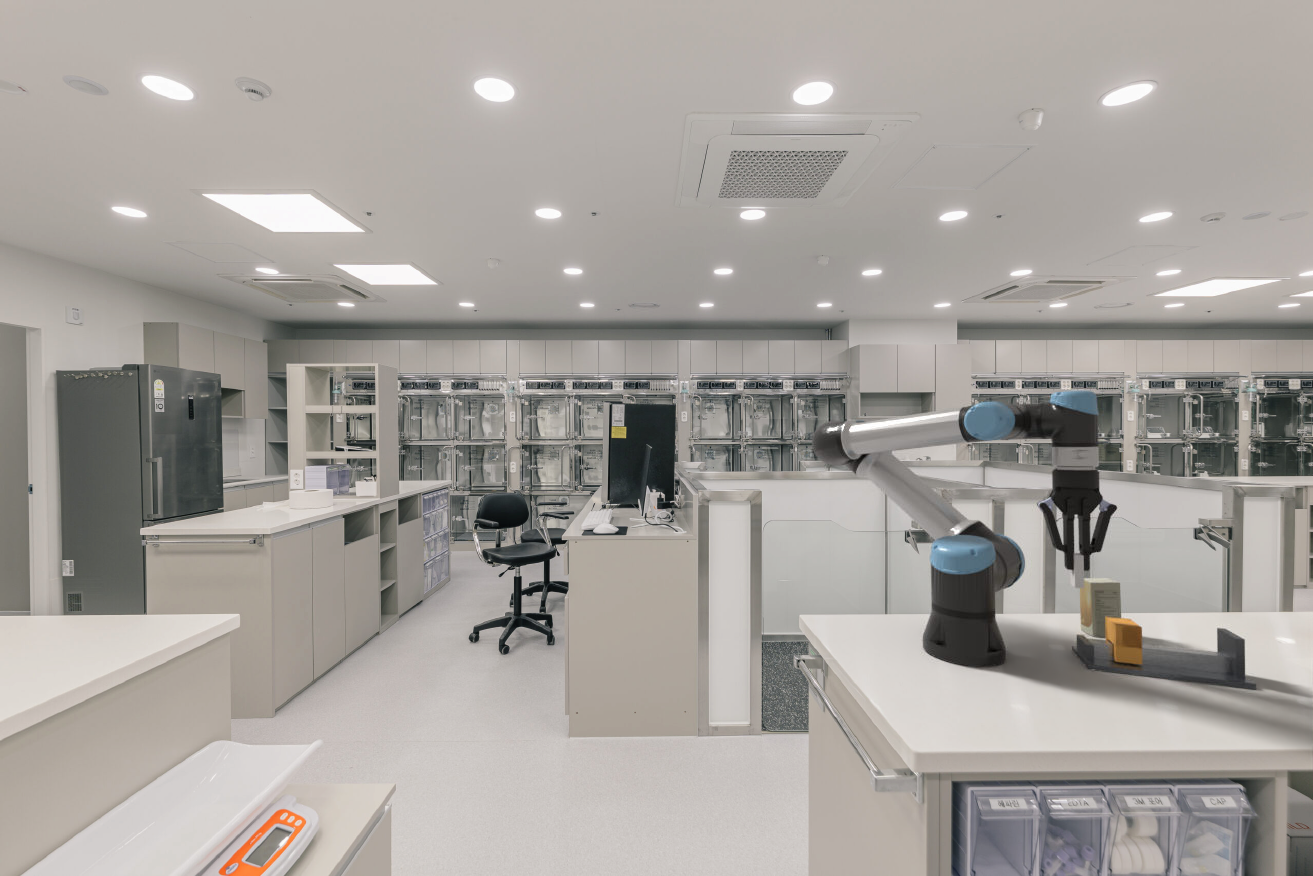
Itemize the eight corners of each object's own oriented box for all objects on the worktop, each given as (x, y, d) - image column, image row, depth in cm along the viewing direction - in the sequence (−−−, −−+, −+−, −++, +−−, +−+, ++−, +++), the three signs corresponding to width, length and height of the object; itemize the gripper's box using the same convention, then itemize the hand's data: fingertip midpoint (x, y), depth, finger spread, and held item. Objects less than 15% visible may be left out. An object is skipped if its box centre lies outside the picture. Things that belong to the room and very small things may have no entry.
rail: (1088, 669, 106) (1087, 627, 106) (1071, 650, 115) (1071, 612, 115) (1256, 689, 97) (1255, 643, 97) (1223, 667, 106) (1222, 625, 106)
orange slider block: (1116, 661, 106) (1115, 625, 106) (1105, 651, 111) (1105, 616, 111) (1142, 664, 104) (1141, 627, 104) (1130, 654, 109) (1130, 618, 109)
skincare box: (1108, 630, 126) (1108, 577, 126) (1123, 637, 122) (1122, 582, 122) (1078, 630, 127) (1078, 577, 127) (1091, 636, 123) (1091, 581, 123)
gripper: (1041, 469, 109) (1043, 588, 109) (1123, 469, 105) (1125, 594, 104) (1031, 467, 116) (1034, 579, 116) (1108, 467, 111) (1110, 584, 111)
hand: (1077, 586), depth 110 cm, fingers closed
